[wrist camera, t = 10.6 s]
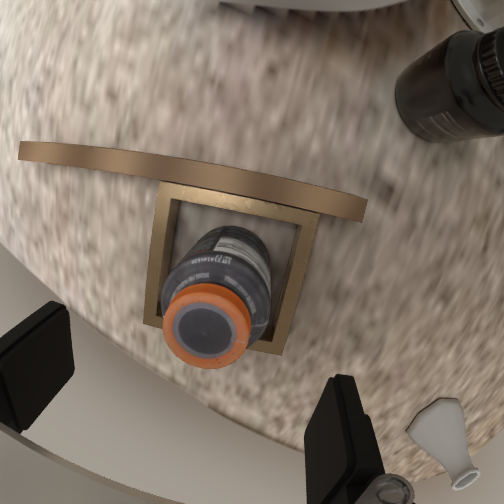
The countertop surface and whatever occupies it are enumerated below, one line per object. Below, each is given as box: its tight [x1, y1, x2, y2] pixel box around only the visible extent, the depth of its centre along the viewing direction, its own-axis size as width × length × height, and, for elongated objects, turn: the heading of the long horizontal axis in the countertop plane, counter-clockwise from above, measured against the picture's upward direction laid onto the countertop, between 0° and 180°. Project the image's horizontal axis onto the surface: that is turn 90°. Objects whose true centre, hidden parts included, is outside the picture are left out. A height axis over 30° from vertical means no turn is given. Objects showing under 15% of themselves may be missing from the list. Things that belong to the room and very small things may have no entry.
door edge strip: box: [18, 141, 368, 223], centre depth 21 cm, size 26×2×4 cm, turn 78°
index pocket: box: [143, 181, 320, 355], centre depth 24 cm, size 11×11×2 cm
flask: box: [406, 398, 481, 491], centre depth 23 cm, size 7×7×10 cm
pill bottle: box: [161, 226, 271, 369], centre depth 19 cm, size 6×6×11 cm
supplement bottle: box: [396, 26, 504, 143], centre depth 15 cm, size 7×7×12 cm
